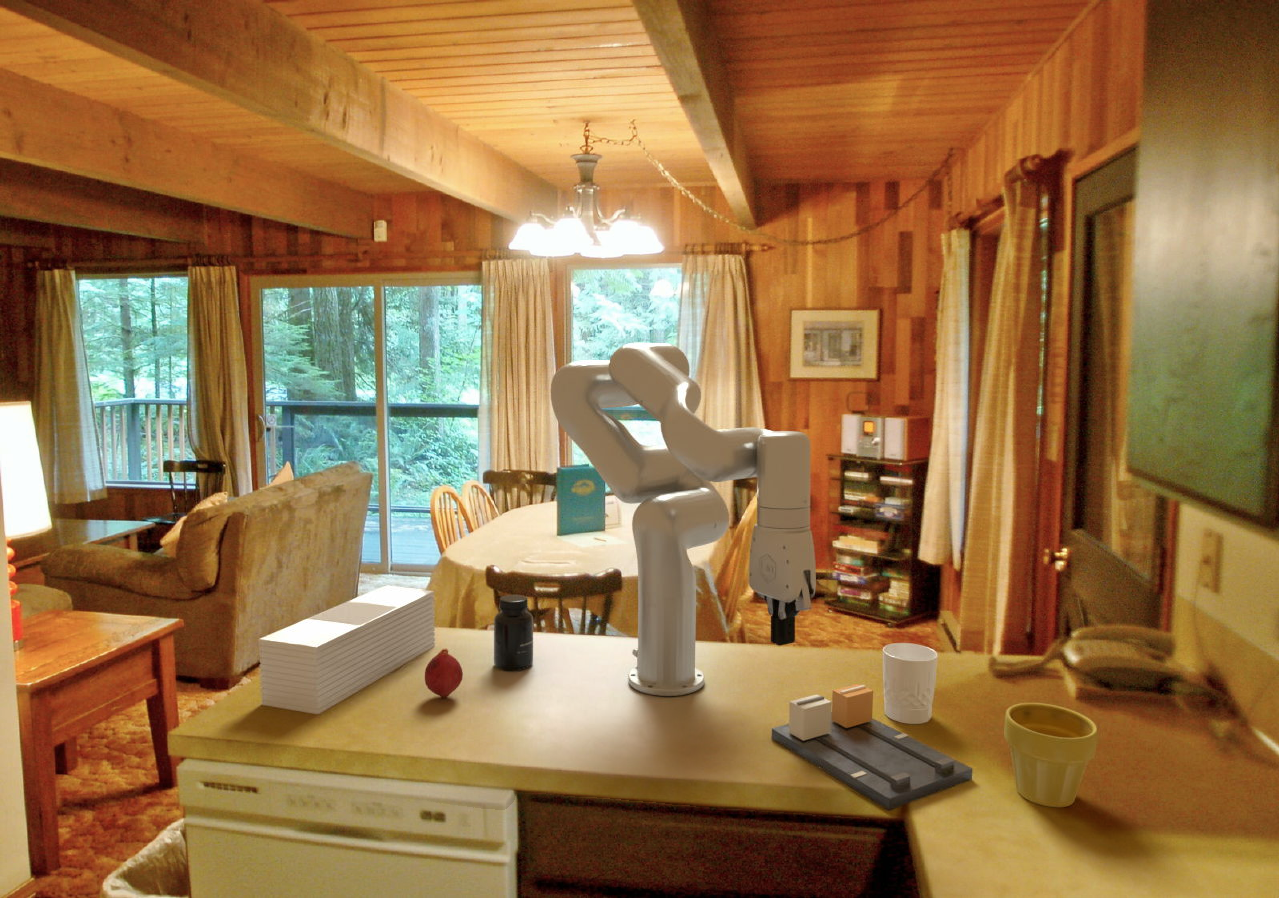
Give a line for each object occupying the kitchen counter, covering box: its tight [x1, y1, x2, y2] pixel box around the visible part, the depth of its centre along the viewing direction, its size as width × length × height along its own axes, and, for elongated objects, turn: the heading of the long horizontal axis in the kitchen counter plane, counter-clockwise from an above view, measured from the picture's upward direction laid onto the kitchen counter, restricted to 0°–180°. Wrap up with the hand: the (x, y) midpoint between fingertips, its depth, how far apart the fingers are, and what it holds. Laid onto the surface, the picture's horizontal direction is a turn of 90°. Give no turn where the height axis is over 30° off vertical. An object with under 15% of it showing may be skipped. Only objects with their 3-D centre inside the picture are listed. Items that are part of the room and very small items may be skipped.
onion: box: [424, 647, 464, 699], centre depth 134 cm, size 6×6×8 cm
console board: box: [771, 711, 973, 811], centre depth 115 cm, size 22×15×3 cm
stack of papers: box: [258, 585, 436, 715], centre depth 144 cm, size 32×11×11 cm, turn 161°
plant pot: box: [1003, 702, 1099, 808], centre depth 105 cm, size 10×10×10 cm
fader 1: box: [788, 693, 832, 741], centre depth 118 cm, size 3×5×5 cm, turn 120°
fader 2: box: [831, 683, 874, 728], centre depth 122 cm, size 3×5×5 cm, turn 120°
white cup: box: [882, 642, 939, 725], centre depth 128 cm, size 8×8×10 cm
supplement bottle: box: [493, 594, 534, 672], centre depth 148 cm, size 7×7×12 cm
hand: (782, 642), depth 123 cm, fingers closed
